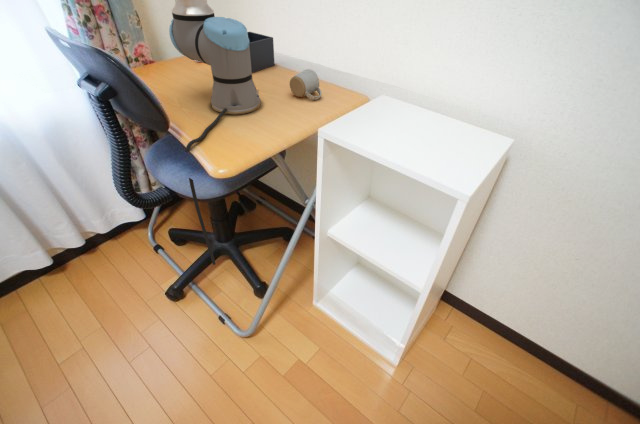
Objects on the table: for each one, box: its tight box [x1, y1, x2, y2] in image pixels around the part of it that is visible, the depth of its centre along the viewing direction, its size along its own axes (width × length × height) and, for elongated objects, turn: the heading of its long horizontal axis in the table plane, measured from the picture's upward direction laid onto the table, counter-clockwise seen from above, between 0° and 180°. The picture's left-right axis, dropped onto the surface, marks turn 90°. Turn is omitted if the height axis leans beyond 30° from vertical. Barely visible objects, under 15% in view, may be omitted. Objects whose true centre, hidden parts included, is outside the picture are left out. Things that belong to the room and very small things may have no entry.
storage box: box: [247, 31, 275, 74], centre depth 126 cm, size 13×13×11 cm
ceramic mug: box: [289, 68, 322, 101], centre depth 105 cm, size 11×8×8 cm
